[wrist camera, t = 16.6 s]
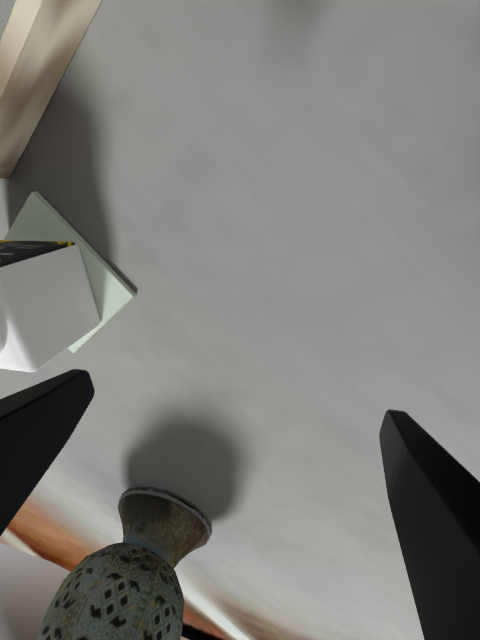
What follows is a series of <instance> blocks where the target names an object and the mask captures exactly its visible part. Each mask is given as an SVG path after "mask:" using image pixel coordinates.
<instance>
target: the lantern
mask: <svg viewBox="0 0 480 640" xmlns="http://www.w3.org/2000/svg"><path fill="white" fill-rule="evenodd" d="M118 509H119V513H120V517H121V521H122V525H123V535H124V537H123V542H122V543H116V544H112V545H109V546H107V547H105V548H103V549H101V550H99V551H97V552H95V553H92V554H90V555H88V556H86V557H85V558H84V559H83V560H82V561H81V562H80V563H79V564H78V566H77V567H76V568H75V569H74V570H73V571H72V572H71V573H70V574H69V575H68V576H67V577H66V579H64V581H63V582H62V584H61V586H60V588H59V590H58V591H57V593H56V595H55V597H54V599H53V600H52V602H51V604H50V606H49V608H48V609H47V611H46V613H45V616H44V619H43V622H42V625H41V628H40V631H39V635H38V638H37V640H180V637H181V634H182V623H183V611H184V598H183V593H182V590H181V587H180V584H179V581H178V578H177V575H176V572H175V570H174V568H175V566H176V565H177V564H178V562H179V561H180V560H181V559H182V558H184V557H185V556H186V555H187V554H188V553H190V552H192V551H193V550H195V549H197V548H199V547H201V546H203V545H205V544H206V543H207V541H208V540H209V538H210V535H211V527H210V524H209V522H208V520H207V518H206V517H205V515H204V514H203V513H202V512H201V511H200V510H199V509H198V508H197V507H196V506H194V505H193V504H191V503H190V502H188V501H186V500H185V499H183V498H182V497H179V496H177V495H175V494H172V493H170V492H168V491H164V490H160V489H155V488H144V487H138V488H134V489H130V490H128V491H126V492H125V493H124V494H123V495H122V496H121V498H120V500H119V504H118Z"/></svg>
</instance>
